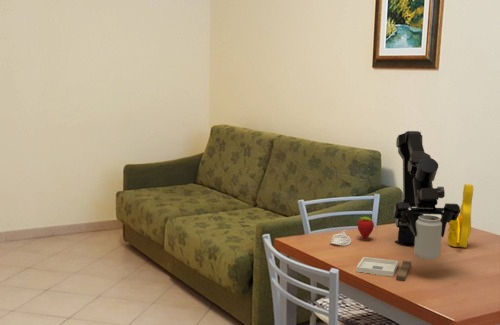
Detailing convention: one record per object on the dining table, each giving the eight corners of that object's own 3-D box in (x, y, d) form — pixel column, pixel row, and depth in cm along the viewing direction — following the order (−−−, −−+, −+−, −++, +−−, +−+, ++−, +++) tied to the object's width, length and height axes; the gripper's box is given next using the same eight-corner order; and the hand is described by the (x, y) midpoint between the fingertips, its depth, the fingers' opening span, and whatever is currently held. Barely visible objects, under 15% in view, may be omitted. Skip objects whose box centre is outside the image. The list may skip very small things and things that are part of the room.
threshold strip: (403, 264, 184) (403, 260, 184) (411, 265, 183) (411, 261, 183) (396, 280, 169) (396, 276, 169) (404, 281, 168) (404, 277, 168)
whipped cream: (340, 250, 201) (341, 237, 200) (324, 245, 206) (325, 232, 205) (353, 244, 207) (354, 231, 206) (338, 239, 211) (338, 226, 210)
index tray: (363, 261, 186) (363, 256, 186) (398, 265, 182) (398, 261, 182) (356, 272, 176) (356, 266, 176) (393, 276, 172) (393, 271, 172)
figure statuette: (442, 238, 214) (446, 179, 211) (465, 239, 212) (468, 180, 209) (451, 252, 196) (454, 188, 193) (475, 253, 195) (479, 189, 192)
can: (441, 261, 168) (444, 220, 167) (415, 259, 170) (417, 219, 168) (438, 253, 176) (440, 214, 174) (413, 251, 177) (415, 213, 175)
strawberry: (371, 236, 215) (372, 210, 214) (375, 242, 208) (376, 215, 207) (355, 236, 216) (356, 210, 214) (358, 242, 208) (359, 214, 207)
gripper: (396, 176, 174) (400, 221, 165) (460, 177, 172) (468, 222, 163) (391, 196, 183) (395, 239, 174) (452, 197, 181) (459, 242, 172)
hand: (429, 235), depth 170 cm, fingers closed on can, 7 cm apart
